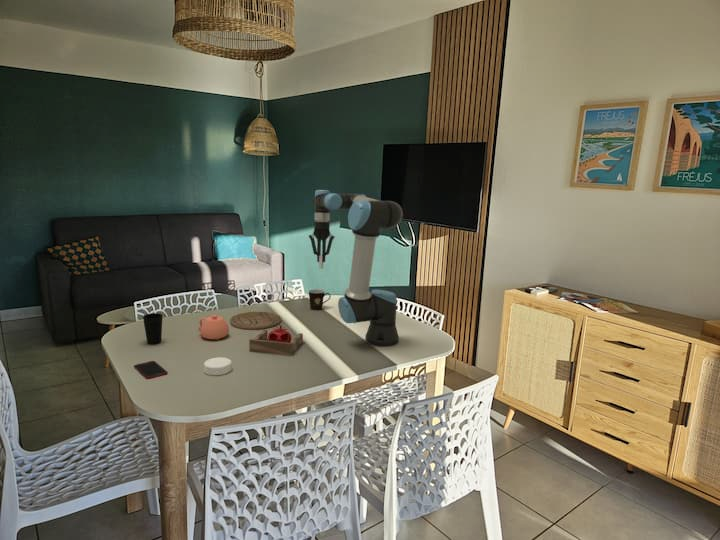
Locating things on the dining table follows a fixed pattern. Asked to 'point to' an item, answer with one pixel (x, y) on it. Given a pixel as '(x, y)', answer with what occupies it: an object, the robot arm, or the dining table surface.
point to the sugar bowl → (213, 327)
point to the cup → (153, 328)
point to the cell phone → (150, 370)
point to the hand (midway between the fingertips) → (321, 268)
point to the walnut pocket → (274, 345)
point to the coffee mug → (317, 299)
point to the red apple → (279, 335)
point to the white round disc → (217, 366)
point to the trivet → (255, 320)
